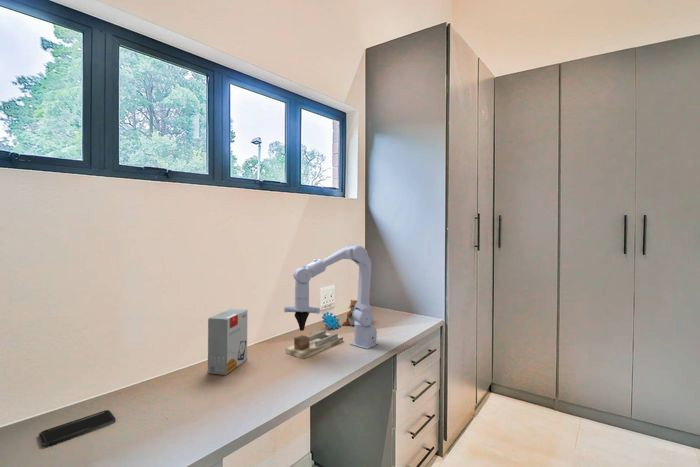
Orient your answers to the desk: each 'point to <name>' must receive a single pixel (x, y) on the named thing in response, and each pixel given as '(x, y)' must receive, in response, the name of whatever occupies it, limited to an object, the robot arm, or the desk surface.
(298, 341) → the walnut cube
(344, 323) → the stuffed squirrel
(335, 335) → the channel board
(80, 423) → the phone
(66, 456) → the desk surface
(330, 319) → the gear
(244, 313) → the hard drive box
